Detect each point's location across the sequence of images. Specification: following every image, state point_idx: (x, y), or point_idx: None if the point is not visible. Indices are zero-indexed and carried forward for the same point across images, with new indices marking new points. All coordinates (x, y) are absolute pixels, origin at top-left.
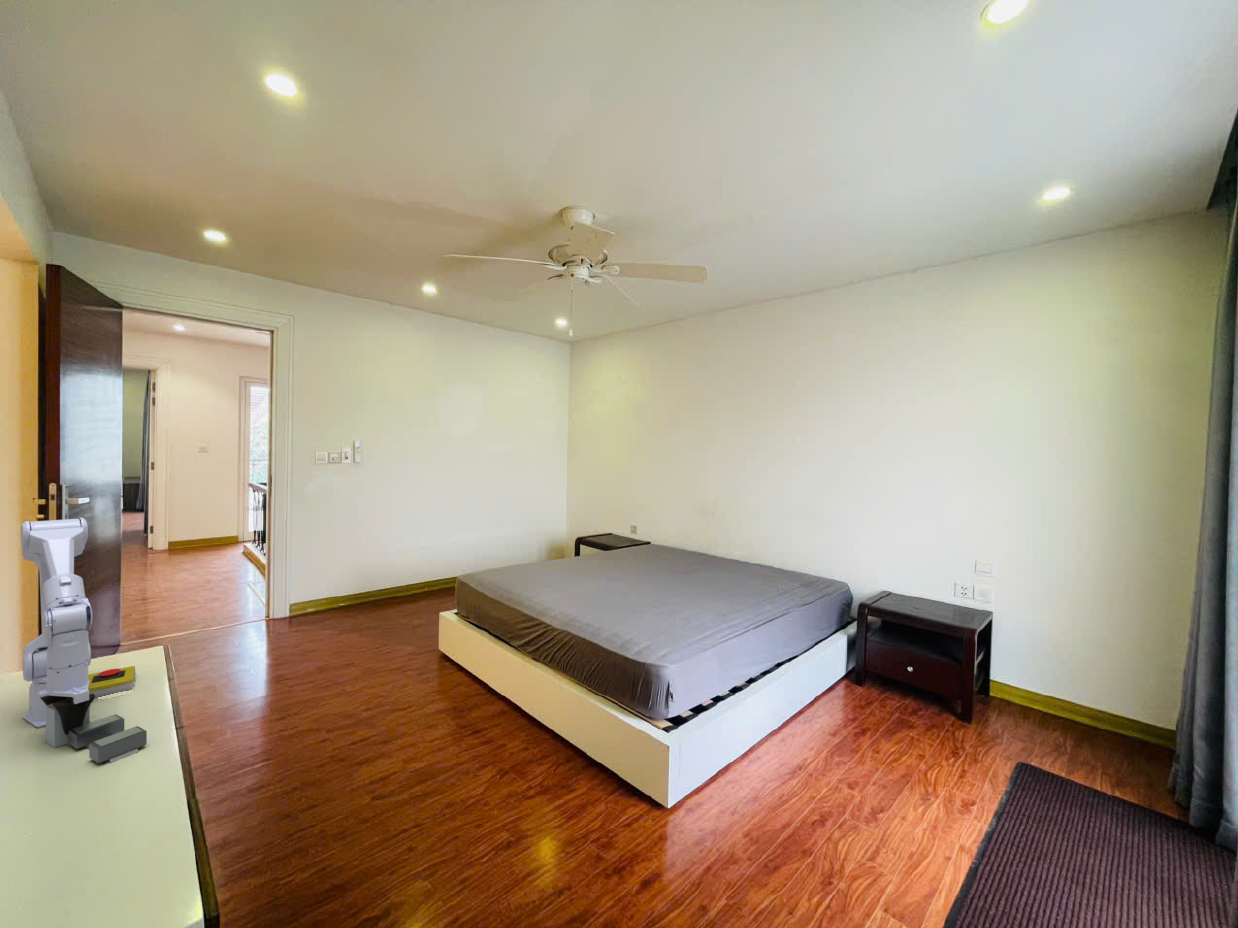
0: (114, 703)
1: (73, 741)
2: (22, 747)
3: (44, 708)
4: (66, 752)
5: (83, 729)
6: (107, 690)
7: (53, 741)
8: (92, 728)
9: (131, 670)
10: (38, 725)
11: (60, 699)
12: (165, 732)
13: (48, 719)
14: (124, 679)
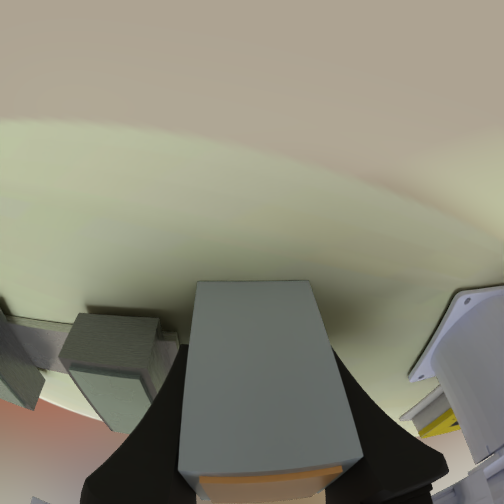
0: (388, 405)
1: (101, 332)
2: (356, 220)
3: (490, 345)
4: (109, 289)
5: (92, 384)
6: (445, 405)
7: (207, 302)
8: (84, 392)
9: (456, 429)
10: (460, 298)
11: (348, 483)
12: (67, 403)
13: (294, 388)
14: (436, 430)
